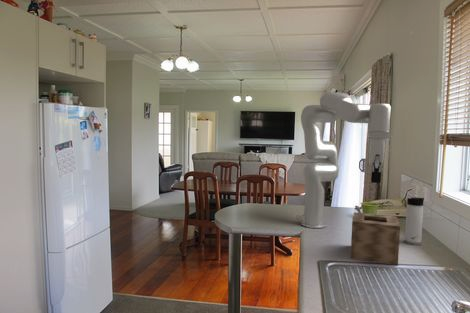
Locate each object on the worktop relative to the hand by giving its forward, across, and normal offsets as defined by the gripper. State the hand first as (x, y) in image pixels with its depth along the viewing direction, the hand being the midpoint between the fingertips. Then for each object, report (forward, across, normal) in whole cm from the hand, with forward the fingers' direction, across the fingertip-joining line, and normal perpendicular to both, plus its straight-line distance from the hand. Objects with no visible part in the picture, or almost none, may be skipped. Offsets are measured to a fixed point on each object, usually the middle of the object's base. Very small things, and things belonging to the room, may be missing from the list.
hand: (375, 181), depth 134 cm
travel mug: (+29, -22, +16) cm, 39 cm away
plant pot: (+29, -57, -2) cm, 64 cm away
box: (+28, +2, +1) cm, 28 cm away
